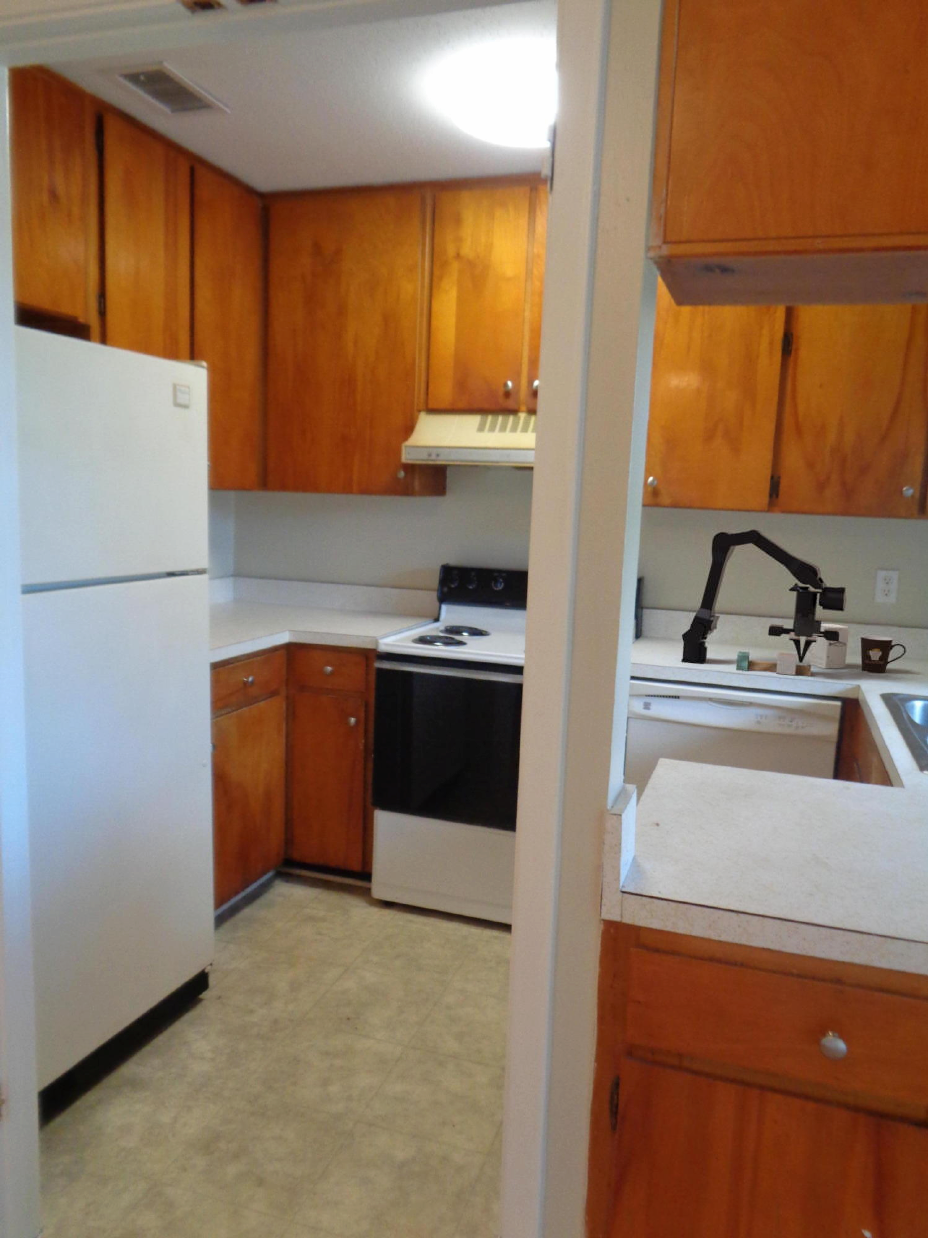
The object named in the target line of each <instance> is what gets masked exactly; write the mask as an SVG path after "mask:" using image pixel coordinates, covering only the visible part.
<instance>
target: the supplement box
mask: <svg viewBox="0 0 928 1238" xmlns="http://www.w3.org/2000/svg"><path fill="white" fill-rule="evenodd" d="M824 628H826V629H837V630H838V631H839V641H827V640H826V639H825V638H824V637H817V638H816V640H817V642H813V643H812V644H811V646H810V658H809V665H812V666H814V667H819V668H822V669H845V668H846V660H847V650H848V642H849V641H848V639H849V628H850V627H849V626H845V625H842V624H841V625H840V624H833V623H821V631H824Z"/></svg>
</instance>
